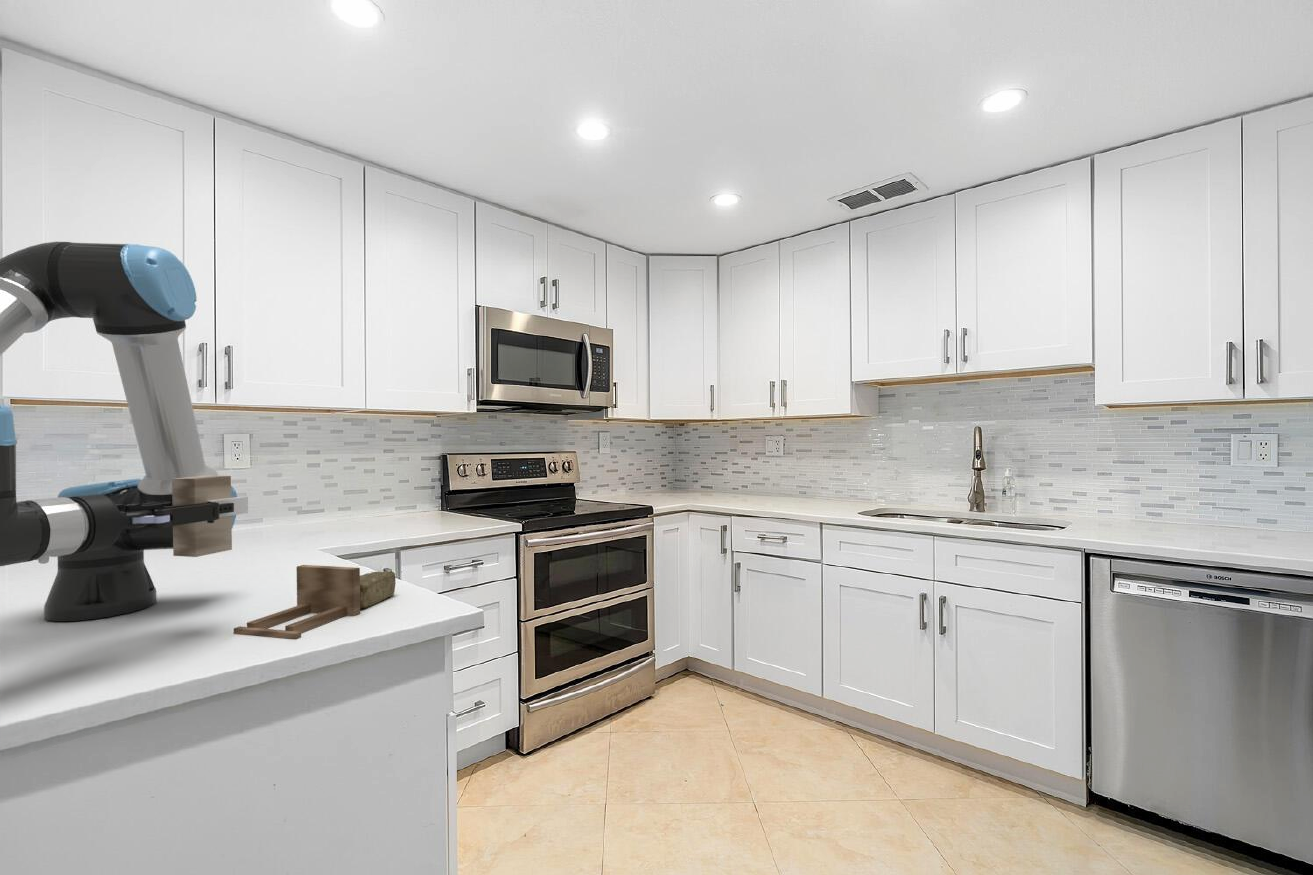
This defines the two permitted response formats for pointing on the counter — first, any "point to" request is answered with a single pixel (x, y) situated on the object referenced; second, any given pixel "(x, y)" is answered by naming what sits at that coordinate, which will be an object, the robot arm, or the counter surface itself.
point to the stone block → (376, 587)
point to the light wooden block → (202, 534)
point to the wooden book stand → (313, 602)
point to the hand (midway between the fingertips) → (233, 504)
